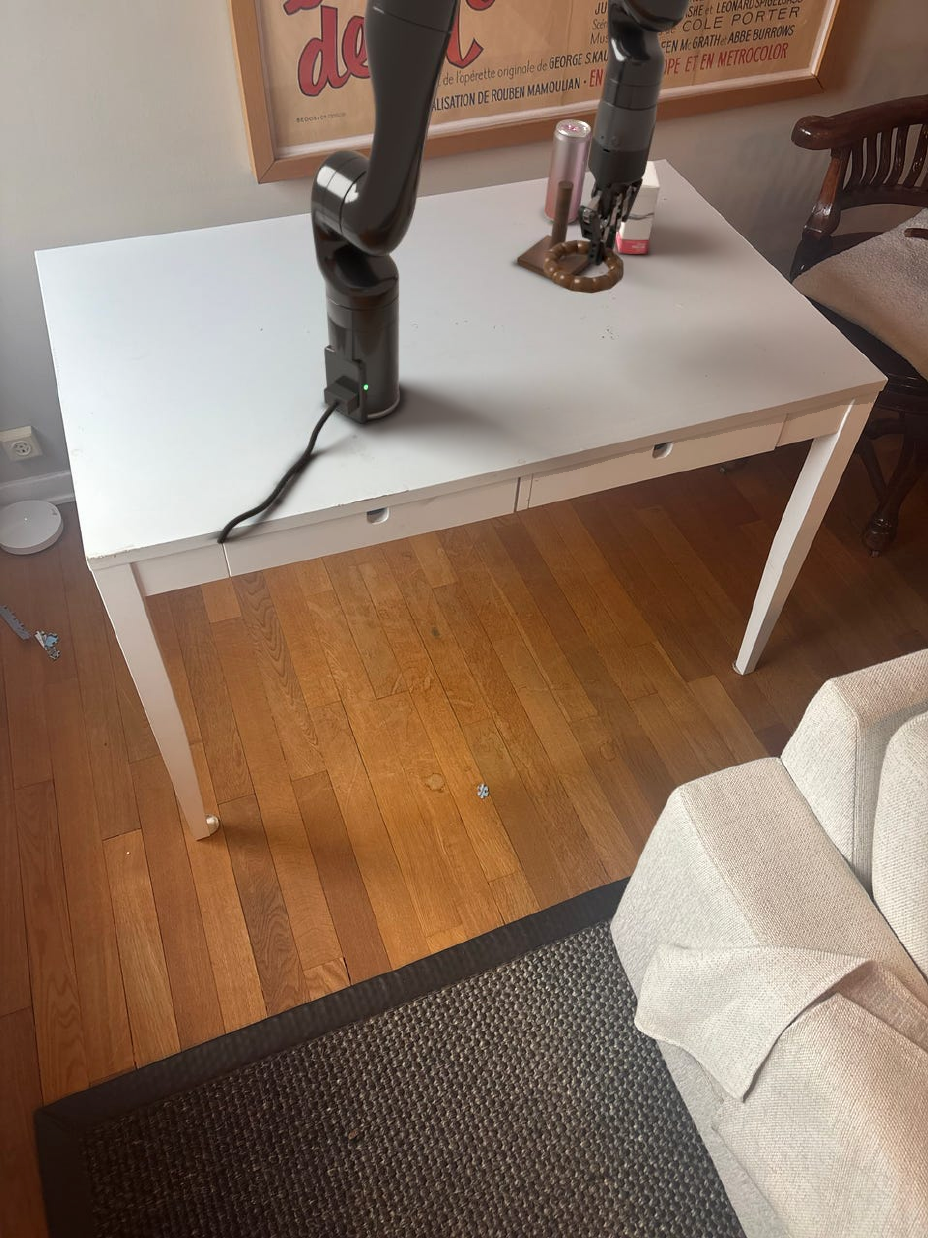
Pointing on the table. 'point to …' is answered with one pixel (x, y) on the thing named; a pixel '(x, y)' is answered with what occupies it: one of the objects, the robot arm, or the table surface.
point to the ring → (580, 282)
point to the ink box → (640, 215)
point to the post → (555, 237)
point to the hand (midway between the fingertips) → (599, 258)
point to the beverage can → (568, 163)
